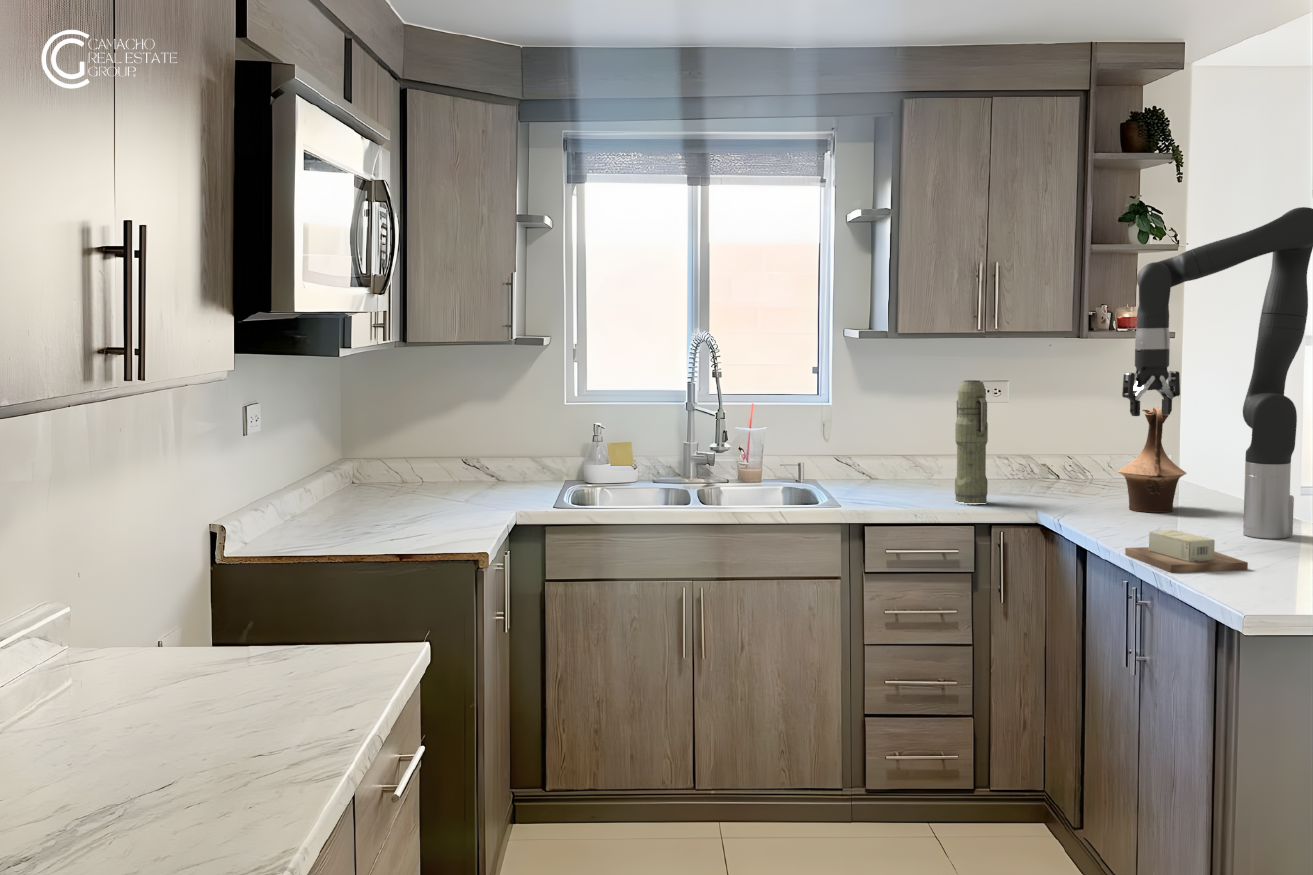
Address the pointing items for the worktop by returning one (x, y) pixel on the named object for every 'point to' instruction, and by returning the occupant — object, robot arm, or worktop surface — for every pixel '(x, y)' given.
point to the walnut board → (1178, 565)
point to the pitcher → (1152, 471)
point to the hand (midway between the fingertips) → (1150, 415)
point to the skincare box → (1181, 545)
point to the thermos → (971, 443)
